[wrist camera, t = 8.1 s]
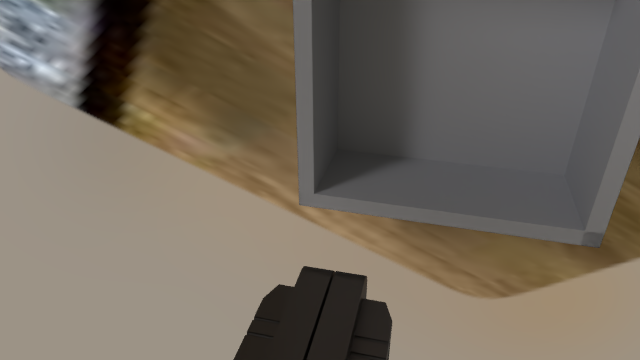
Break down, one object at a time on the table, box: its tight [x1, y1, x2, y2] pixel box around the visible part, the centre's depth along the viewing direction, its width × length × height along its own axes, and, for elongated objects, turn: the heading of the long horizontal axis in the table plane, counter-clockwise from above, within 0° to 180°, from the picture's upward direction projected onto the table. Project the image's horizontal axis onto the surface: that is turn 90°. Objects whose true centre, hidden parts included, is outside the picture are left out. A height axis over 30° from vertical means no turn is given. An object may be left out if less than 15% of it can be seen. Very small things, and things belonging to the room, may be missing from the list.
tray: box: [293, 0, 640, 248], centre depth 21 cm, size 18×14×6 cm
